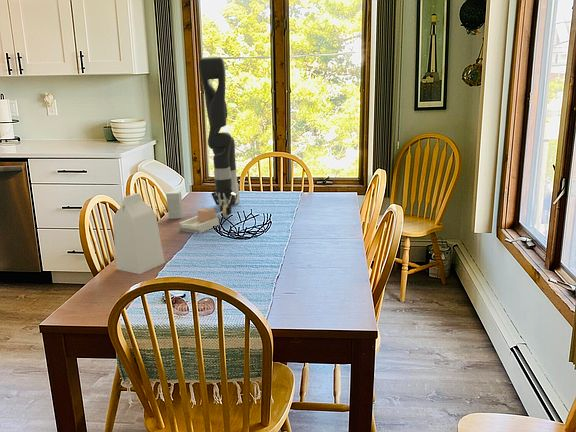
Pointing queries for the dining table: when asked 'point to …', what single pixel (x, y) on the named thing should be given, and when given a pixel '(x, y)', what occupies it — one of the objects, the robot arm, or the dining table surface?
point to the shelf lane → (198, 225)
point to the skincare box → (174, 204)
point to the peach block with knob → (209, 214)
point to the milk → (136, 236)
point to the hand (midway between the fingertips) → (225, 214)
